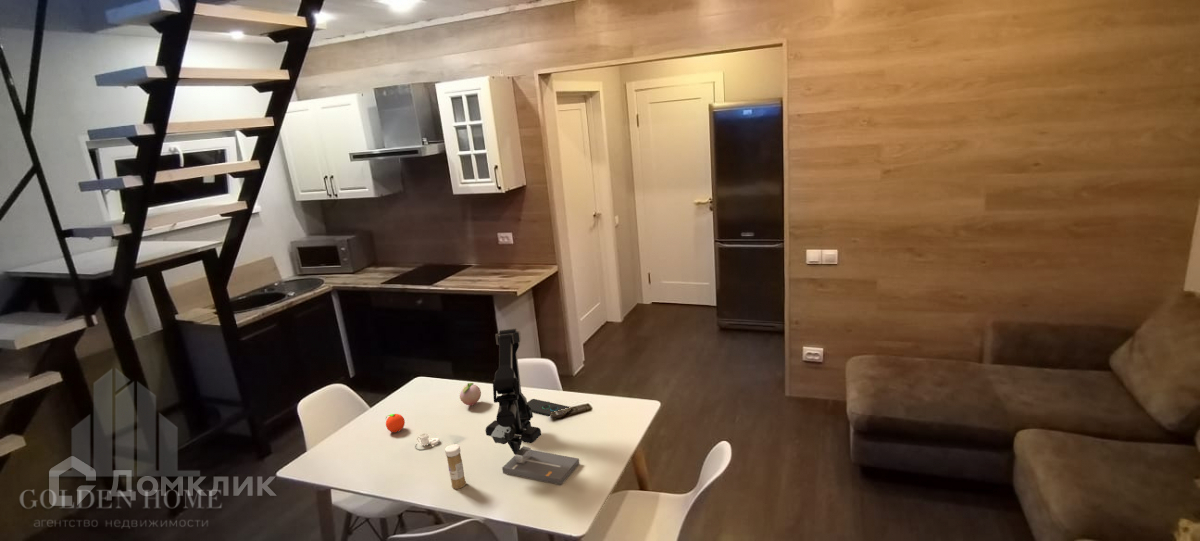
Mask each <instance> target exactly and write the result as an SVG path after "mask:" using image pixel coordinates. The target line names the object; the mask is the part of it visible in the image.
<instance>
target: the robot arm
mask: <svg viewBox="0 0 1200 541" xmlns="http://www.w3.org/2000/svg"><path fill="white" fill-rule="evenodd" d="M521 341H522V335H521V331H520V330H519V331H518V329H517V328H515V327H514V328H507V329H501V330H499V332H498V333H495V342H496V343H495V344H496V345H497V346H498V347H499V348H498V352H499V354H498V369H497V370H496V371H495V373H494V380H492V394H493V403H495V404H496V403H498V409H497V414H496V418H495V420H492V422H491V423H490V424H489V423H488V425H487V426H486V427H485V434H486V436H488V437H492V439H493V441H494V443H495V444H501V445H506V444H508V446H509V447H510V449H511V451H512V452H513V455H515V453H517V452H518V451H519V450H520V449H521V445H522V443H527V444H534V443H535V442H536V441H537V440H538V439H539V438H540V436H542V431H541V428H539V427H537V426H532V424H531V423H532V422H531V420H532V418H533V417H534V415H533V414H534V413H532V410H531V407H530V406H529V404H527V402H528V401H527V397H526V396H525V395H524V394H523V393H522V386H521V377H520V371H519V370H520V368H519V361H518V355H517V354H518V353H517V352H518V350H519V348H520V347H521Z"/></svg>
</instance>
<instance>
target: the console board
mask: <svg viewBox="0 0 1200 541" xmlns="http://www.w3.org/2000/svg"><path fill="white" fill-rule="evenodd" d="M531 453H532V456H531V457H530V458H529V459H528V460H527V461H526V462H525V463H524V464H521V463H516V459H515V455H514V456H513V457H512V458H511V459H510V460H509V461H508V462H506V463H505V464H504V465H503V466H502V467H501V469H502V473H503V474H507V475H510V476H517V477H521V478H525V479H530V480H534V481H539V482H544V483H549V484H553V485H559V486H563V484H564V482H565V481H566V480H567V479H568V478H569V477H570V475H572V473H573V472H574V471H575V470H576V469H577V467H579V465H580V460H579V458H577V457H572V456H568V455H561V454H556V453H551V452H545V451H539V450H534V449H531Z"/></svg>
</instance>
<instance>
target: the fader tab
mask: <svg viewBox="0 0 1200 541" xmlns="http://www.w3.org/2000/svg"><path fill="white" fill-rule="evenodd" d="M531 450H532V449H531V447H529V446H522V447H520V450H519V451H518V452H517V453H515V454H514V456H515V459H516V463H521V464H524V463H525V462H526V461H527V460H528V459H529V458H530V457H531V456H532V453H531Z"/></svg>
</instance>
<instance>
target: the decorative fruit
mask: <svg viewBox="0 0 1200 541" xmlns="http://www.w3.org/2000/svg"><path fill="white" fill-rule="evenodd" d="M481 395H482V392H481V388H480V387H479V386H478V385H476V384H474V383H473V382H468V383H467V384H465V385H464V386H463V387H462V389H461V391H460V393H459V399H460V401H461V403H463V404H464V405H466V406H473V405H475V404H476V403H478V402H479V400H480V399H481Z"/></svg>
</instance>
